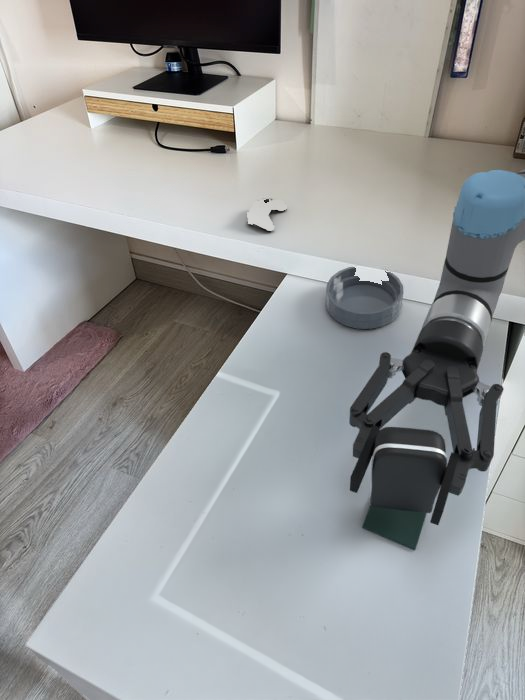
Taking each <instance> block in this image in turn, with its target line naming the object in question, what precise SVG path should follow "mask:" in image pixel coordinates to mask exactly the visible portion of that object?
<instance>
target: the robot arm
mask: <svg viewBox="0 0 525 700" xmlns="http://www.w3.org/2000/svg"><path fill="white" fill-rule="evenodd" d="M452 214H453V215H452V221H451V229H450V232H449V236H448V237H449V238H448V243H447V248H446V249H447V250H446V253H445V254H446V255H445V259H444V262H443V266H442V270H441V276H440V277H441V278H440V281H439V285H438V288H437V290H436V294H435V296H434V299H433V301H432V303H431V306H430V307H429V309H428V312H427V314H426V316H425V319H424V321H423V323H422V327H421V329H420V331H419V333H418V335H417V338H416V341H415V342H414V345H413V348H412V349H411V352H410V353H409V354H408V355H406V356H405V357H404V358H403V359H401V358H393V357H392V355H391V353H390V352H388V351H384V352H381V353H380V355H379V363H378V366H377V368H376V369H375V371H374V372H373V374H372V375H371V377H370V378H369V379H368V381H367V382H366V384H365V385H364V386H363V389H362V390H361V391H360V392H359V394H358V395H357V397H356V398H355V400H354V401H353V403H351V406H350V407H349V417H348V422H349V425H350V426H351V427H353V428H357V429H358V433H357V434H356V437H355V440H354V441H353V444H352V457H353V458H355V459H357V461H356V463H355V466H354V468H353V470H352V472H351V475H350V480H349V481H350V482H349V491H350V492H352V493H354V494H355V493H356V494H358V491H359V489H360V488H361V487H360V486H361V485H362V482H363V479H364V477H365V474H366V473H367V470H368V468H369V466H370V462H371V461H372V458H373V448H374V442H375V437H376V435H377V433H378V431H379V430H381V429H382V428H384V427H385V426H386V424H387V423H389V422H390V421H391V420H392V419H393V418H394V417H395V416H396V415H397V414H398V413H400V412H401V411H402V410H403V409H404V408H405V407H406V406H407V405H410V404H412V403H413V402H414V401H415V400H416V399H420V400H423V401H429V402H430V401H431V402H432V403H434V404H435V405H439V406H442V407H443V410H444V415H445V416H446V420H447V426H448V431H449V435H450V436H449V437H450V442H451V446H452V451H451V452H450V454H449V455H450V456H449V458H448V460H447V467H446V471H445V475H444V478H443V481H442V484H441V487H440V489H439V492H438V494H437V496H436V500H435V503H434V506H433V510H432V514H431V517H430V521H429V523H430V524H433V525H435V526H439V524H440V522H441V520H442V516H443V514H444V510H445V507H446V503H447V500H448V496H449V494H452V495H454V496H457V497H459V496H460V495H461V494H462V492H463V489H464V487H465V484H466V481H467V477H468V473H469V471H470V470H473V469H475V470H477V471H478V472H483V473H485V472H487V471H488V470H489V467H490V465H491V463H492V460H493V458H494V455H495V442H496V441H495V440H496V420H497V406H498V404H499V402H500V399H501V398H502V394H503V392H504V386H503V385H502V384H500V383H494V384H492V385H491V386H490V385H488V384H485V383H484V382H481V381H480V377H479V375H478V370H479V366H480V362H481V360H482V356H483V352H484V348H485V345H486V343H487V340H488V335H489V333H490V329H491V325H492V321H493V316H494V313H495V311H496V308H497V305H498V302H499V299H500V296H501V294H502V292H503V288H504V285H505V281H506V277H507V273H508V271H509V268H510V264H511V262H512V259H513V257H514V253H515V251H516V248H517V246H518V245H519V244H520V243H522V242H524V241H525V168H523V169H522V170H520V171H519V172H517V173H516V172H513V171H509V170H505V169H489V170H488V171H486V172H484V171H479V172H476V173H474V174H472V175H470V176H468V178H466V180H464V182H463V183H462V186H461V187H460V191H459V194H458V198H457V202H456V204H455V206H454V209H453V213H452ZM398 372H401V373H402V374H403V377H404V379H403V381H402V383H401V384H400V385H399V386H398V387H397V388H396V389H395V390H393V391H392V392H391V393H389V394H388V395H387V397H385V398H384V399H383V400H382V401H381V402H380V403H378V404H377V405H376V406H375V407H374V408H373V409H372V410H371V408H372V407H373V405H374V404H375V402H376V401H377V399H378V397H379V396H380V394H381V393H382V392H383V390H384V388H385V387H386V386H387V383H388V380H389V379H393V377H394V376H396V374H397V373H398ZM472 394H476V396H477V398H476V401H477V403H478V405H479V406H480V410H479V417H478V428H477V439H476V449H475V447H473V445H472V441H471V436H470V432H469V427H468V426H469V425H468V422H467V417H466V414H465V413H466V412H465V407H464V402H463V400H464V398H466V397H468V396H470V395H472Z"/></svg>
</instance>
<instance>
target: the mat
mask: <svg viewBox="0 0 525 700" xmlns="http://www.w3.org/2000/svg"><path fill="white" fill-rule="evenodd" d="M426 516H427V513H422V512H412V511H403V510H395V509H387V508H380V507H373V506H371V505H370V504H369V507H368V510H367V513H366V516H365V518H364V521H363V523H362V526H361V529H363V530H366V531H368V532H371V533H373V534H375V535H378V536H380V537H382V538H385V539H387V540H390V541H392V542H394V543H397V544H399V545H401V546H403V547H406V548H408V549H411V550H414V551H416V549H417V547H418V546H417V545H418V542H419V539H420V537H421V536H420V535H421V533H422V529H423V527H424V523H425V520H426Z"/></svg>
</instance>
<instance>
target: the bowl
mask: <svg viewBox="0 0 525 700" xmlns="http://www.w3.org/2000/svg"><path fill="white" fill-rule="evenodd" d="M355 272H356V268H355V267H353V266H348V267H345V268H343V269H341V270H339V271H337V272H336V273H334V274H333V275H332V276H331V277H330V278H329V280H328V282H327V283H326V288H325V306H326V309H327V312H328V314H329V315H330V316H331V317H332V318H333V320H334V321H336V322H338V323H339V324H341V325H344V326H346V327H350V328H353V329H358V330H359V329H362V330H371V329H376V328H381V327H383V326H385V325H388V324H391V323H392V322H393V321H394V320H395V319H396V318H397V317H399V314H400V313H401V311H402V306H403V300H404V285H403V283H402V280H400V278H399V277H398V276H397V275H395V274H394V273H393V272H392V271H390V272H386V271H385V272H386V273H387V276H388V278H389V281H382V280H381V281H382V285H381V284H378V283H374V282H370V281H359V280H360V278H359V277H358V276H354V275H355ZM391 272H392V273H391Z"/></svg>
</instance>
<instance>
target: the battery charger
mask: <svg viewBox="0 0 525 700" xmlns="http://www.w3.org/2000/svg"><path fill="white" fill-rule="evenodd" d="M447 464H448V455H447V451H446V441H445V439H444V437H443V435H442V434H440V433H439V432H438V431H435V430H429V429H423V428H412V427H399V426H386V427H385V426H384V427H382V428H381V429H380V430H379V431H378V433H377V435H376V437H375V442H374V448H373V456H372V458H371V467H370V492H369V497H368V501H369V506H370V505H371V506H373V507H380V508H387V509H395V510H403V511H412V512H422V513H426V514H431V513H433V509H434V505H435V502H436V499H437V497H438V494H439V491H440V487H441V484H442V481H443V478H444V475H445V471H446V467H447Z"/></svg>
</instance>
